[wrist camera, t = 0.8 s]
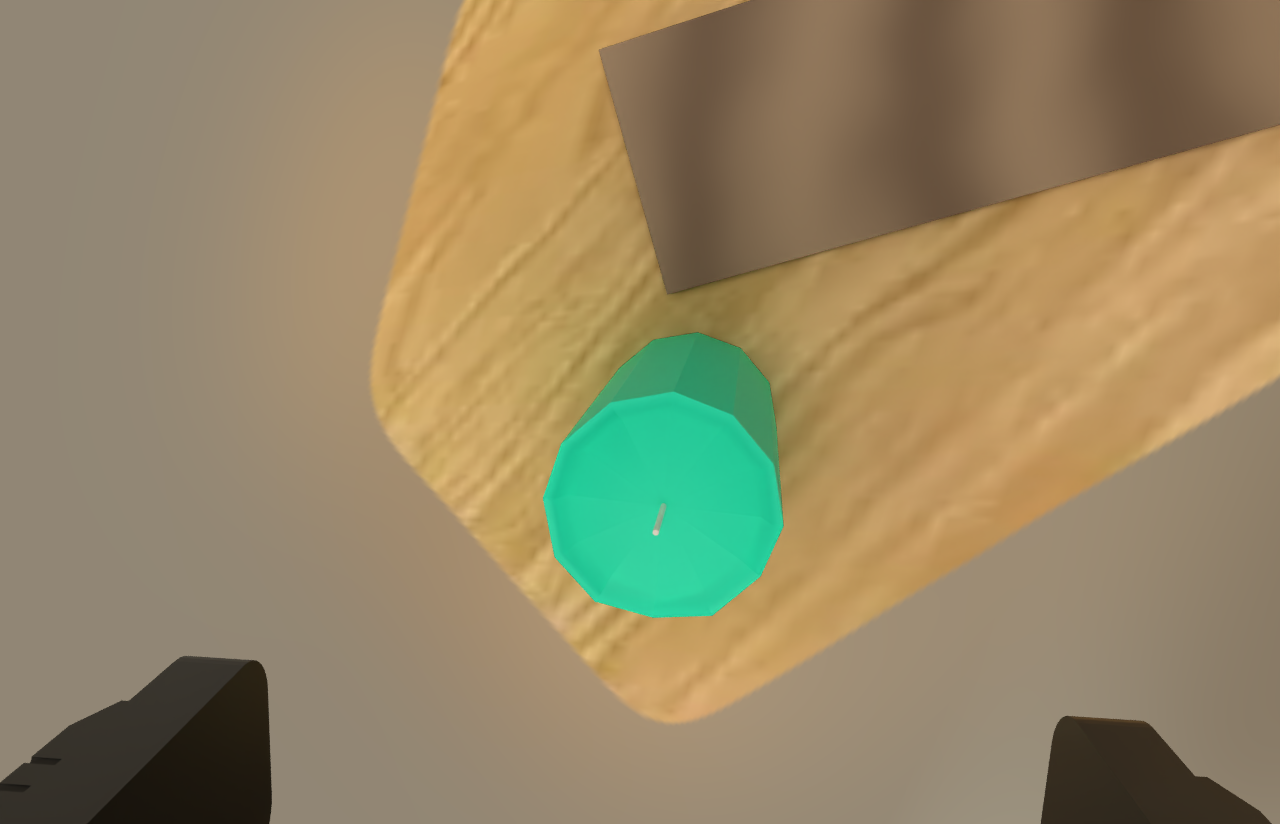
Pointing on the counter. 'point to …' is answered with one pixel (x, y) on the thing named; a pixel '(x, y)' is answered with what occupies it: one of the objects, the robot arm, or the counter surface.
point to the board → (914, 112)
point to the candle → (670, 482)
